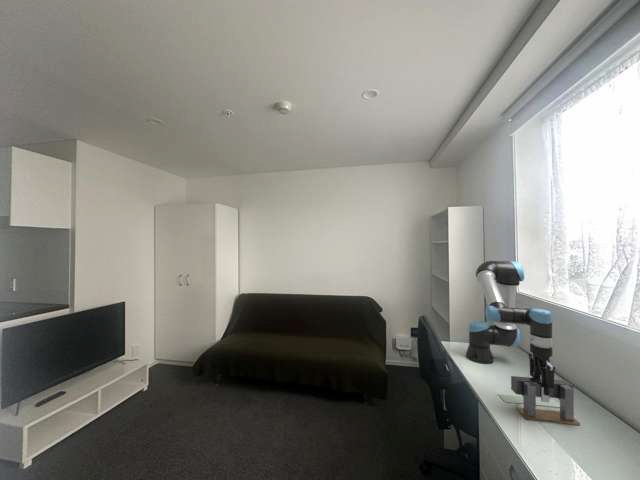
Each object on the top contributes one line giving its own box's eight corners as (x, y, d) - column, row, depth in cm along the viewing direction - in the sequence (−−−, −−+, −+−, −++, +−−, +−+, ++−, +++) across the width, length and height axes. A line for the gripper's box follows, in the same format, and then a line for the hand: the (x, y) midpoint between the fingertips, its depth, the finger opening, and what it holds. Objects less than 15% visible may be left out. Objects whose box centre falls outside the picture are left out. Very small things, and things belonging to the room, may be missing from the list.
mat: (498, 394, 126) (498, 393, 126) (553, 399, 122) (553, 398, 122) (505, 402, 120) (505, 401, 120) (563, 408, 116) (563, 407, 116)
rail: (511, 389, 117) (511, 376, 117) (566, 394, 113) (566, 380, 113) (516, 394, 113) (516, 380, 113) (573, 399, 109) (573, 385, 110)
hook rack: (511, 405, 118) (511, 374, 118) (561, 410, 115) (560, 378, 115) (525, 419, 108) (525, 386, 109) (580, 425, 105) (579, 391, 105)
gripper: (519, 337, 123) (520, 386, 122) (544, 352, 106) (545, 409, 105) (537, 338, 121) (537, 388, 121) (565, 353, 105) (566, 411, 104)
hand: (541, 398), depth 113 cm, fingers closed on rail, 4 cm apart
